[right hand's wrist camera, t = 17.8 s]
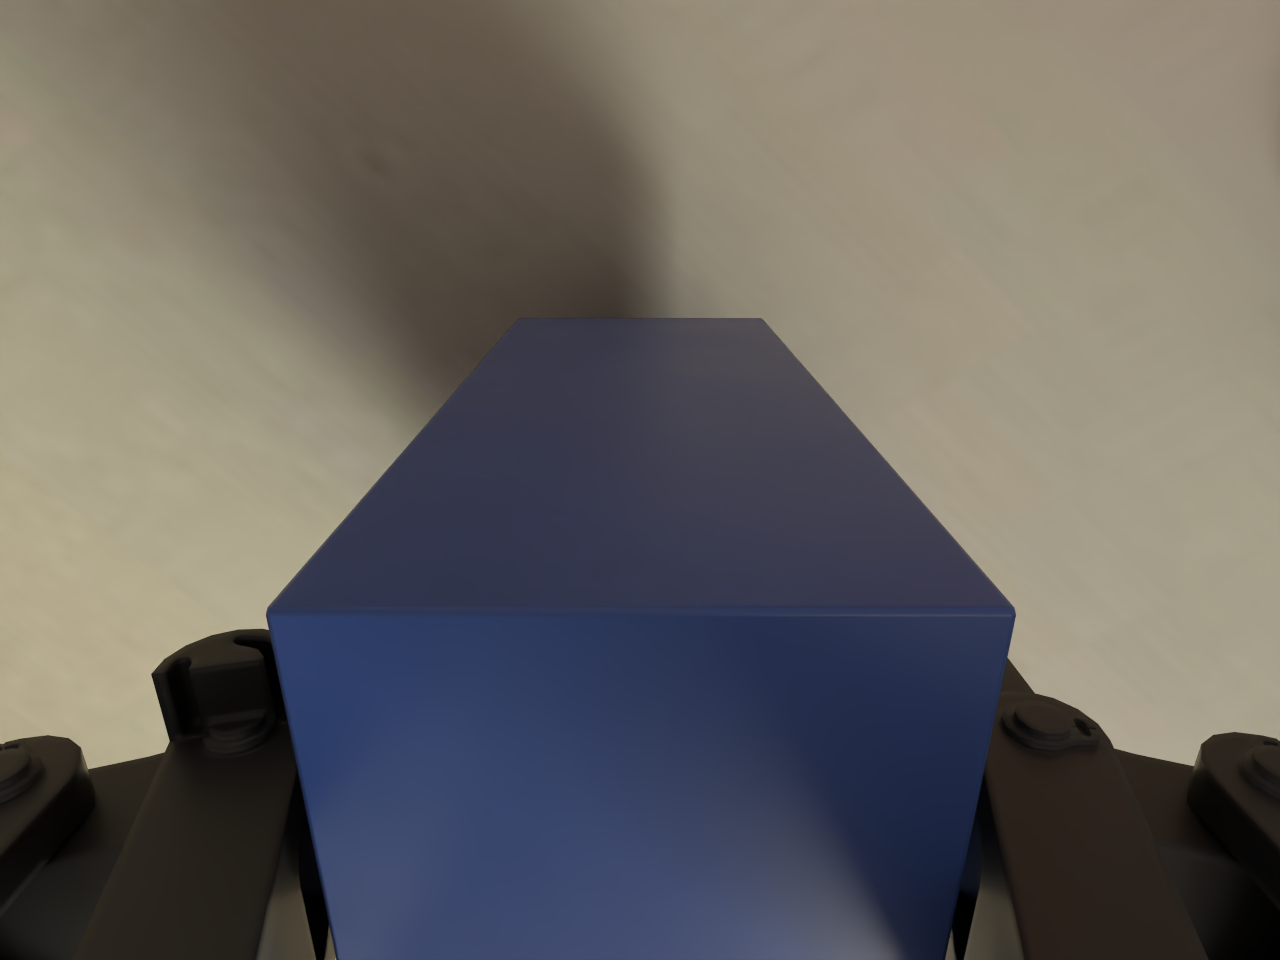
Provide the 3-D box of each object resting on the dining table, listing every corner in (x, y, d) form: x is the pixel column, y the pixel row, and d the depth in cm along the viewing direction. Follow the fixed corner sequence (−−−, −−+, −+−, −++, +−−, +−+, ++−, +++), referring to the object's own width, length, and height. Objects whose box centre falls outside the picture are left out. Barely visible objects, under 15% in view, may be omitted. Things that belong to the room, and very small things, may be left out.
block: (517, 318, 16) (261, 610, 5) (762, 317, 16) (1021, 610, 5) (533, 597, 18) (382, 1196, 8) (747, 597, 18) (899, 1196, 8)
